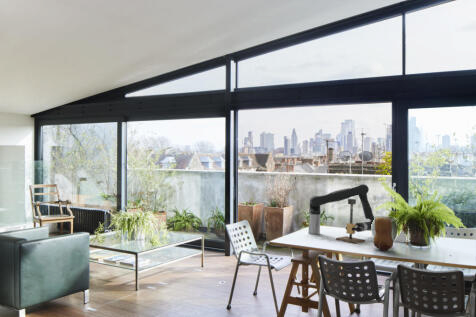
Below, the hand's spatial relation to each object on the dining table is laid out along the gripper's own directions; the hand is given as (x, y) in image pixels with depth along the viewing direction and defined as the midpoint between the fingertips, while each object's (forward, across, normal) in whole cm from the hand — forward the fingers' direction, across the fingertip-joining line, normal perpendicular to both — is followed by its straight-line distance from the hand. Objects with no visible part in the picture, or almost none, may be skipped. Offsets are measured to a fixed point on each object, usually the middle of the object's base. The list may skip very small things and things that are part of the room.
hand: (349, 228), depth 342 cm
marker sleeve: (-3, 0, +4) cm, 5 cm away
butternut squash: (+7, +34, +10) cm, 37 cm away
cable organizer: (-39, +26, +10) cm, 48 cm away
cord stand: (-3, 0, +10) cm, 10 cm away
